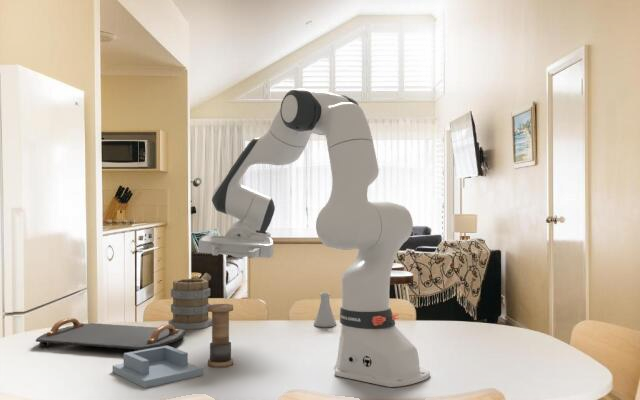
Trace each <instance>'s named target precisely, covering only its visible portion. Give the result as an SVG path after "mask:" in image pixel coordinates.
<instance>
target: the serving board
mask: <svg viewBox="0 0 640 400" xmlns="http://www.w3.org/2000/svg"><path fill="white" fill-rule="evenodd" d="M70 323H72V324H73V325H70V326H66V327H62V326H64V325H67V324H70ZM60 327H62V328H60ZM186 333H187V330H184V329H175V328H174V326H173V325H170V324H169V323H168V324H166V323H165V324H163V325H160V326H158V327H156V326H155V327H153V326H142V325H126V324H111V323H109V324H107V323H97V322H95V323H93V322H89V323H88V322H87V323H83V322H80V321H79V320H78V319H77V318H73V317H71V318H70V317H68V318H63V319H61V320H59V321H57V322H55V324H54V325H53V326H52V328H51V329H50V331H48V332H46V333H43V334H42V335H40V336H39V337H37V338H36V339H35V342H37V343H38V347H39V348H40V349H41V348H43V349H44V348H47V347H48V345H49V344H62V345H74V346H75V345H76V346H77V345H78V346H86V347H99V348H111V349H112V348H114V349H127V350H135V351H139V350H145V349H150V348H156V347H162V346H167V345H169V344H172V343H174V342H177V341H182V340H184V339H185V336H186Z"/></svg>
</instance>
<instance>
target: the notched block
mask: <svg viewBox="0 0 640 400" xmlns="http://www.w3.org/2000/svg"><path fill="white" fill-rule="evenodd" d="M188 354H189V353H188V352H186V351H183V350H181V349H178V348H176V347H173V346H170V345H162V346H159V347H156V348H150V349H145V350H134V351H128V352H124V353H123V363H119V364H113V365H112V373H114V374H115V375H118V376H120V377H122V378H124V379H126V380H127V381H130V382H131V383H134V384H135V385H138V386H140V387H142V388H144V389H147V388H152V387H156V386H160V385H165V384H168V383H170V384H171V383H174V382H177V381H178V382H179V381H182V380H187V379H191V378H192V379H193V378H195V377H199V376H200V377H201V376H203V375H204V373H203V371H204V369H203V368H202V367H199V366H198V365H195V364H193V363H190V362H188V361H189V355H188Z"/></svg>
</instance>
